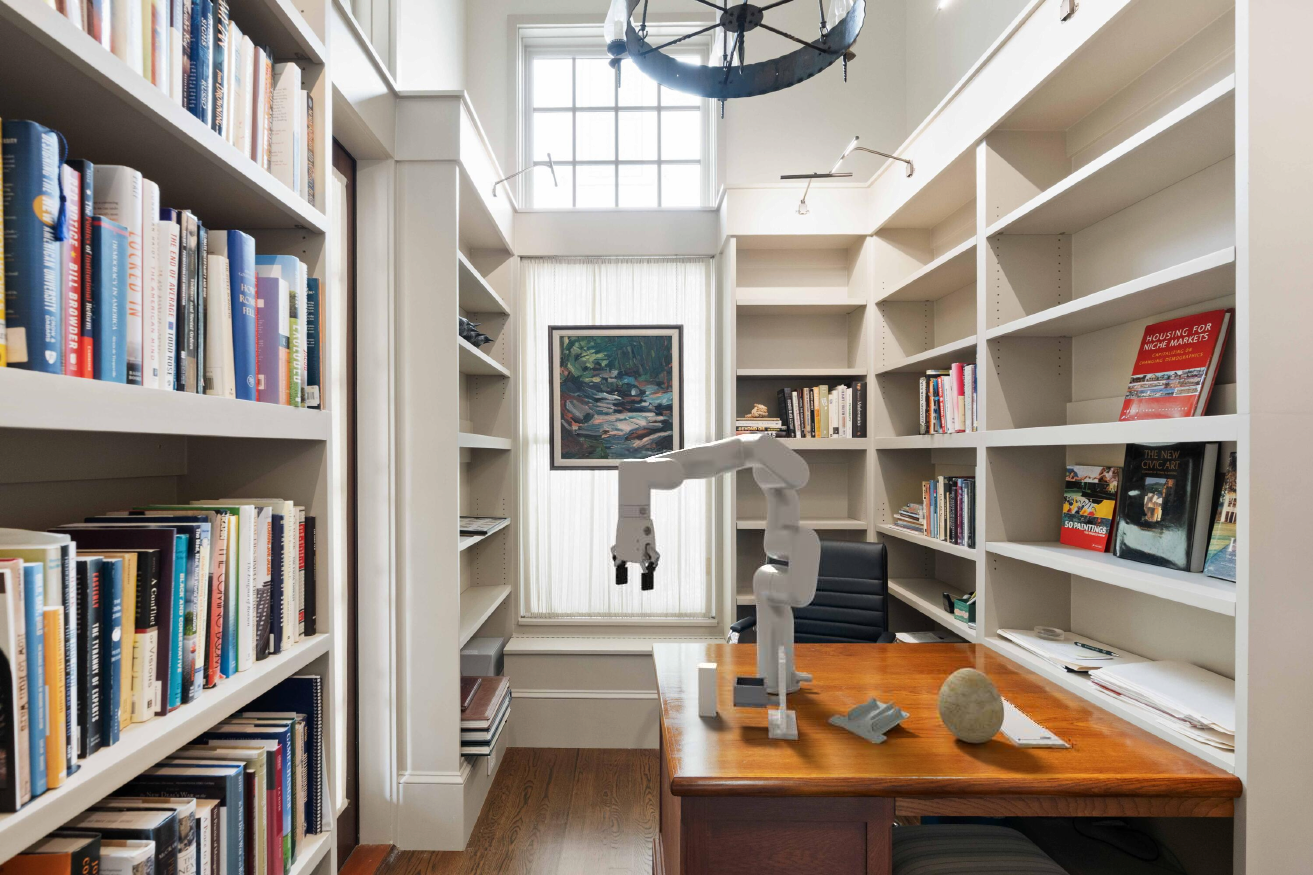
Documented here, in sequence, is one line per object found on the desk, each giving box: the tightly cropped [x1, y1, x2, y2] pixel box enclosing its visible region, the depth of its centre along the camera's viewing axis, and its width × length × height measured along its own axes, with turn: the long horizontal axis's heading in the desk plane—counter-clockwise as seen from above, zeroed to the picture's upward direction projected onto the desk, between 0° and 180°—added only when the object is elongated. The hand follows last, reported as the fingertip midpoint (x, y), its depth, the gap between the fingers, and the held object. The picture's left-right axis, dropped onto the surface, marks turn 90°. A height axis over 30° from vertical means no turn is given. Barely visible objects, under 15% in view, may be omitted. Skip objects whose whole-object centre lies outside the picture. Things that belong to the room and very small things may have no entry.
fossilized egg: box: [937, 667, 1004, 744], centre depth 147 cm, size 13×13×15 cm
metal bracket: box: [828, 696, 911, 745], centre depth 154 cm, size 14×6×15 cm
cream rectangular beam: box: [697, 662, 718, 717], centre depth 163 cm, size 4×4×11 cm
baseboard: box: [999, 696, 1077, 749], centre depth 158 cm, size 31×3×12 cm
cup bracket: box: [732, 645, 799, 740], centre depth 155 cm, size 14×14×16 cm
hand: (634, 587), depth 160 cm, fingers open, 9 cm apart
